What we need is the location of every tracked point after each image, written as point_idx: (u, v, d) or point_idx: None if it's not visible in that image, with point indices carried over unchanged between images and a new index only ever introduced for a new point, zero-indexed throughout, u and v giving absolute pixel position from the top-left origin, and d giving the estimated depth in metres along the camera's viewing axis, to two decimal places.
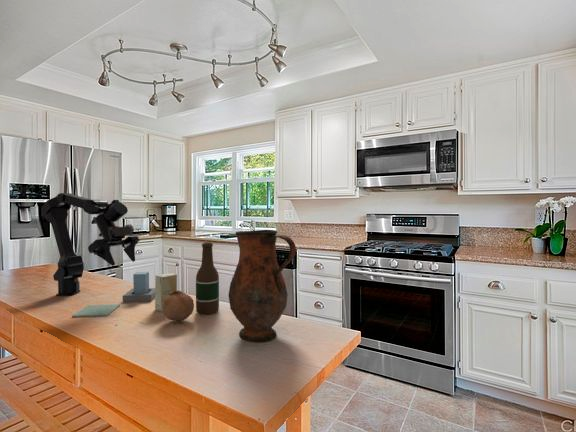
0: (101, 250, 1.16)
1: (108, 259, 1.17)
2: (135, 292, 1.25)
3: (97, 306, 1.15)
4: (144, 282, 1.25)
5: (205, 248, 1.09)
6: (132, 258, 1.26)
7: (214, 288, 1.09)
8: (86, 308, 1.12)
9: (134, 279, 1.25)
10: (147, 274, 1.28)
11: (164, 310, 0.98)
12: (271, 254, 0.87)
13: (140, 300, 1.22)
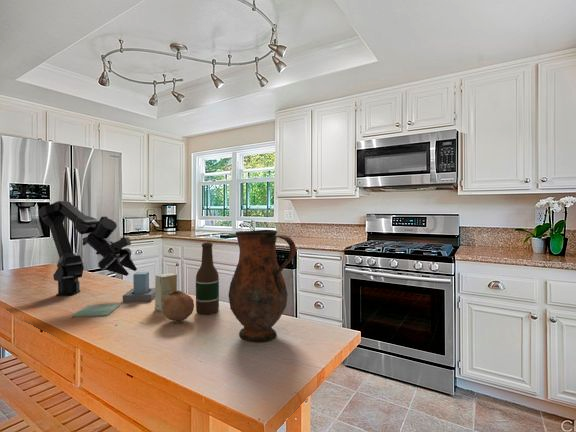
0: (112, 263, 1.19)
1: (121, 270, 1.21)
2: (135, 292, 1.25)
3: (97, 306, 1.15)
4: (144, 282, 1.25)
5: (205, 248, 1.09)
6: (133, 268, 1.31)
7: (214, 288, 1.09)
8: (86, 308, 1.12)
9: (134, 279, 1.25)
10: (147, 274, 1.28)
11: (164, 310, 0.98)
12: (271, 254, 0.87)
13: (140, 300, 1.22)
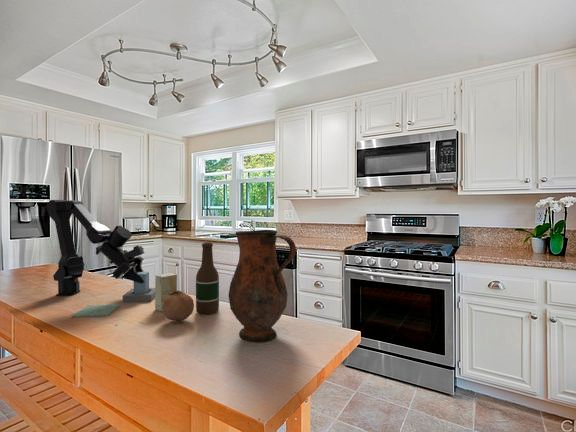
0: (129, 272, 1.22)
1: (137, 278, 1.24)
2: (135, 292, 1.25)
3: (97, 306, 1.15)
4: (144, 282, 1.25)
5: (205, 248, 1.09)
6: None
7: (214, 288, 1.09)
8: (86, 308, 1.12)
9: None
10: (147, 274, 1.28)
11: (164, 310, 0.98)
12: (271, 254, 0.87)
13: (140, 300, 1.22)
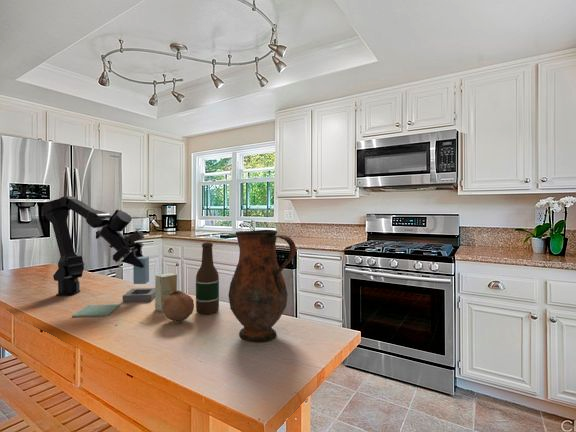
0: (128, 256, 1.22)
1: (136, 263, 1.23)
2: (135, 276, 1.25)
3: (97, 306, 1.15)
4: (144, 266, 1.25)
5: (205, 248, 1.09)
6: None
7: (214, 288, 1.09)
8: (86, 308, 1.12)
9: None
10: (147, 259, 1.27)
11: (164, 310, 0.98)
12: (271, 254, 0.87)
13: (140, 300, 1.22)
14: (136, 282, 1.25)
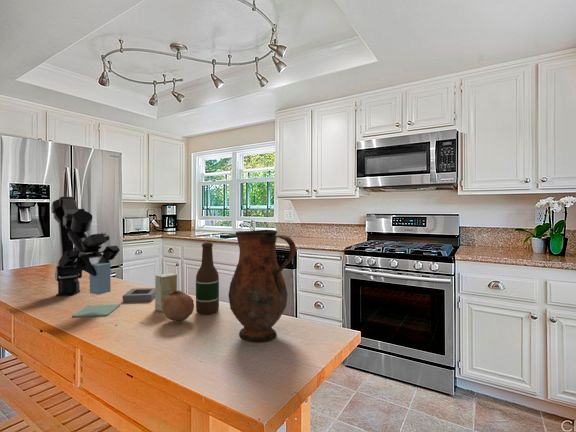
0: (80, 261, 1.08)
1: (89, 270, 1.09)
2: (91, 285, 1.10)
3: (97, 306, 1.15)
4: (97, 275, 1.09)
5: (205, 248, 1.09)
6: None
7: (214, 288, 1.09)
8: (86, 308, 1.12)
9: None
10: (105, 266, 1.11)
11: (164, 310, 0.98)
12: (271, 254, 0.87)
13: (140, 300, 1.22)
14: (91, 291, 1.10)
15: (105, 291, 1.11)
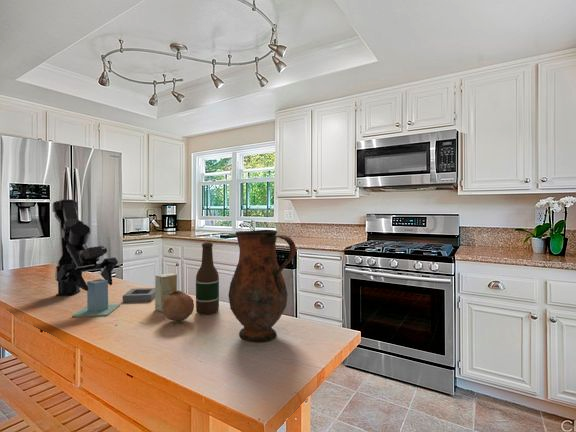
0: (72, 275, 1.06)
1: (80, 284, 1.06)
2: (88, 302, 1.10)
3: None
4: (94, 292, 1.08)
5: (205, 248, 1.09)
6: (109, 281, 1.14)
7: (214, 288, 1.09)
8: (86, 308, 1.12)
9: None
10: (102, 283, 1.10)
11: (164, 310, 0.98)
12: (271, 254, 0.87)
13: (140, 300, 1.22)
14: (89, 309, 1.10)
15: (102, 308, 1.10)
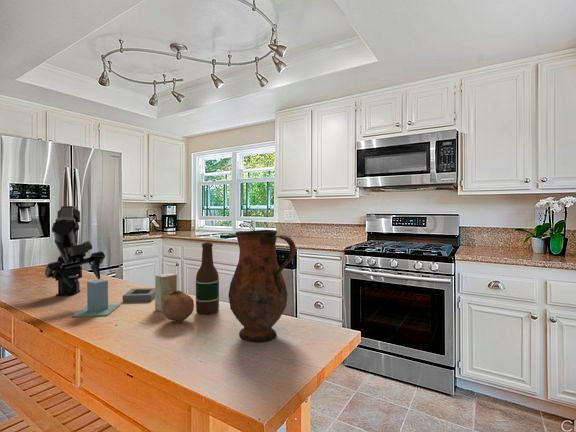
0: (57, 273, 1.11)
1: (66, 281, 1.12)
2: (88, 302, 1.10)
3: None
4: (94, 292, 1.08)
5: (205, 248, 1.09)
6: (97, 276, 1.20)
7: (214, 287, 1.09)
8: (86, 308, 1.12)
9: (87, 288, 1.10)
10: (102, 283, 1.10)
11: (164, 310, 0.98)
12: (271, 254, 0.87)
13: (140, 300, 1.22)
14: (89, 309, 1.10)
15: (102, 308, 1.10)
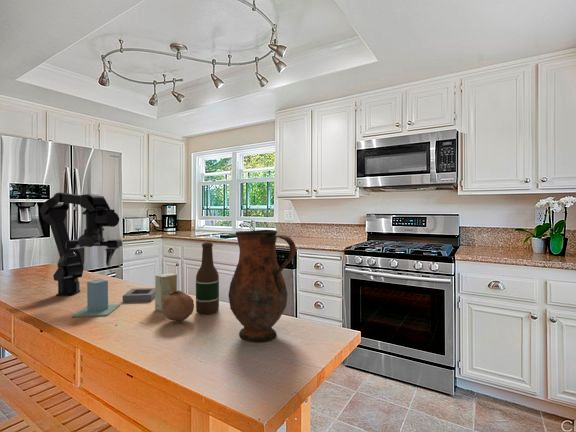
0: None
1: None
2: (88, 302, 1.10)
3: None
4: (94, 292, 1.08)
5: (205, 248, 1.09)
6: None
7: (214, 288, 1.09)
8: (86, 308, 1.12)
9: (87, 288, 1.10)
10: (102, 283, 1.10)
11: (164, 310, 0.98)
12: (271, 254, 0.87)
13: (140, 300, 1.22)
14: (89, 309, 1.10)
15: (102, 308, 1.10)
